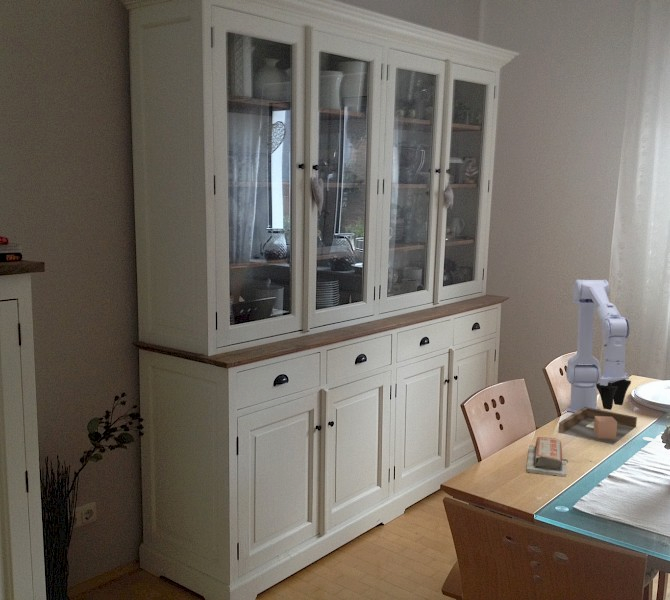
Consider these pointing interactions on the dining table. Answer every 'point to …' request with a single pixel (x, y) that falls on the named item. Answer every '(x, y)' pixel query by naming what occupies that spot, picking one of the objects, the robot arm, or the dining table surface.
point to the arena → (584, 424)
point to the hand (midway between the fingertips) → (612, 406)
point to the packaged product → (546, 457)
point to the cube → (605, 427)
